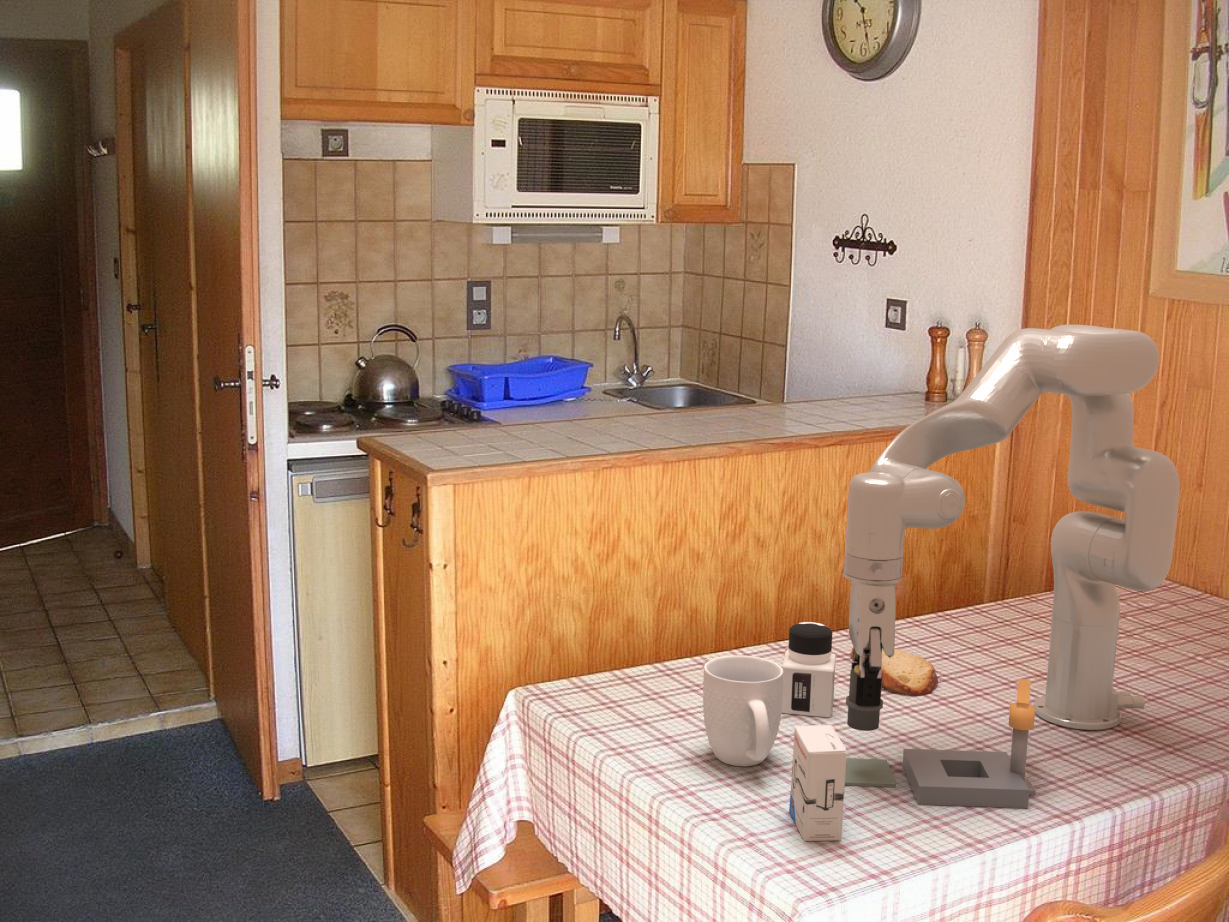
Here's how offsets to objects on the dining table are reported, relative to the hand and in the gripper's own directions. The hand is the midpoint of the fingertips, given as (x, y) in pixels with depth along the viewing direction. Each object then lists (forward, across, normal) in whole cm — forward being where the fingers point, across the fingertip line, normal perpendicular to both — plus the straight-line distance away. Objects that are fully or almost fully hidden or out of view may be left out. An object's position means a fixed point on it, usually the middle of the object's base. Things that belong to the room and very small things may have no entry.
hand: (864, 697), depth 177 cm
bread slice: (+11, +41, -10) cm, 44 cm away
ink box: (+11, -16, +8) cm, 21 cm away
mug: (+11, +3, +16) cm, 20 cm away
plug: (+4, 0, 0) cm, 4 cm away
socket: (+11, -3, -13) cm, 17 cm away
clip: (+2, +2, -22) cm, 22 cm away
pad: (+11, 0, 0) cm, 11 cm away
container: (+11, +24, +5) cm, 27 cm away
